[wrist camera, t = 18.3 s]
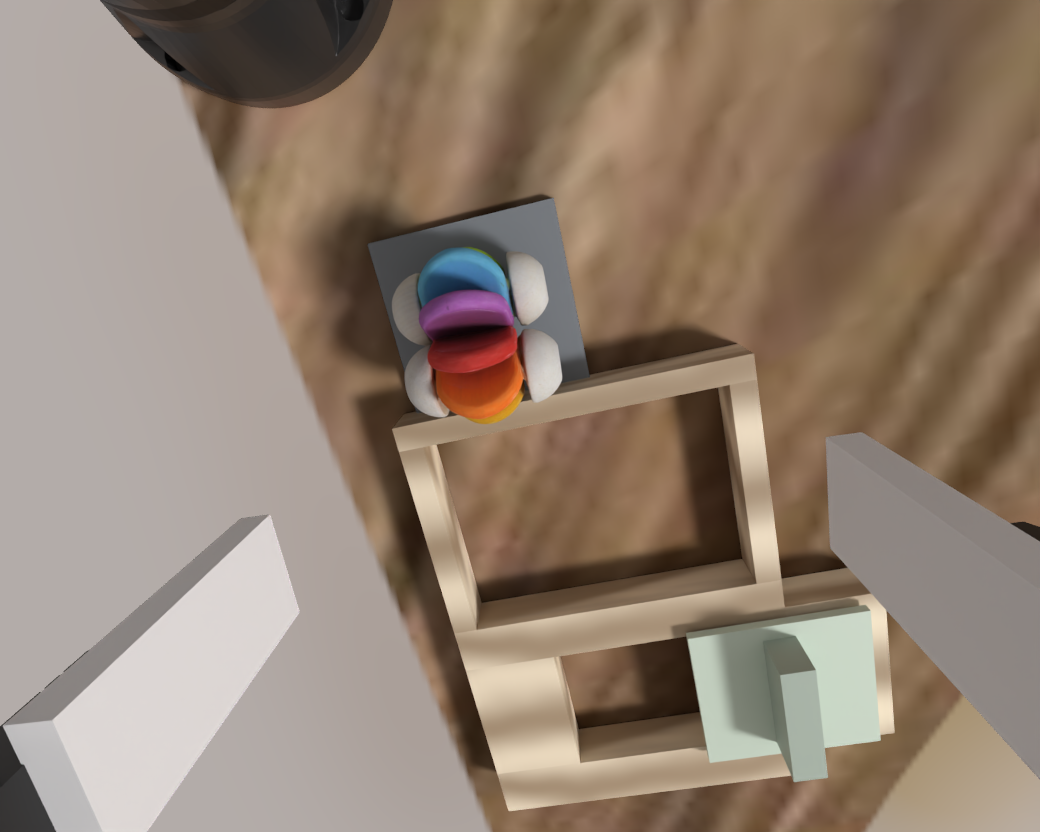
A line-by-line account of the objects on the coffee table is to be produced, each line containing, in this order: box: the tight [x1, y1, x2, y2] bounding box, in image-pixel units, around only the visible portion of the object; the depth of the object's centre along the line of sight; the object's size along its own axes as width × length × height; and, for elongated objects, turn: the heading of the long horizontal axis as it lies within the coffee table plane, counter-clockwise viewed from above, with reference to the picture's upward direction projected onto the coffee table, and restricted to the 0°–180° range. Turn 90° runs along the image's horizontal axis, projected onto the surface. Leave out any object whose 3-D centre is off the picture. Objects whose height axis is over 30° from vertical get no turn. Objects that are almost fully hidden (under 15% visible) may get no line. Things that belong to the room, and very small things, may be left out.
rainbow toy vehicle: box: [392, 247, 562, 424], centre depth 31 cm, size 8×10×7 cm
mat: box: [368, 198, 590, 413], centre depth 36 cm, size 11×11×1 cm
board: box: [392, 344, 894, 811], centre depth 40 cm, size 30×27×3 cm
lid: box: [686, 605, 881, 782], centre depth 37 cm, size 10×11×4 cm
